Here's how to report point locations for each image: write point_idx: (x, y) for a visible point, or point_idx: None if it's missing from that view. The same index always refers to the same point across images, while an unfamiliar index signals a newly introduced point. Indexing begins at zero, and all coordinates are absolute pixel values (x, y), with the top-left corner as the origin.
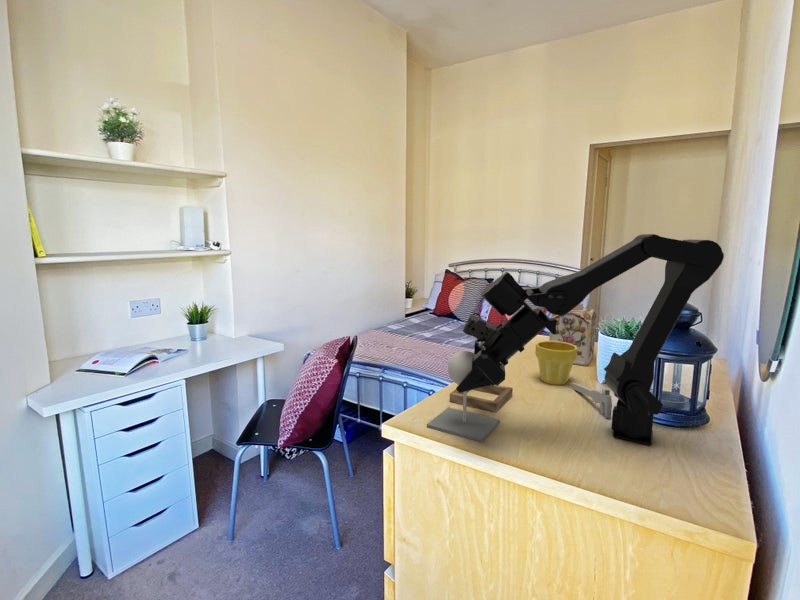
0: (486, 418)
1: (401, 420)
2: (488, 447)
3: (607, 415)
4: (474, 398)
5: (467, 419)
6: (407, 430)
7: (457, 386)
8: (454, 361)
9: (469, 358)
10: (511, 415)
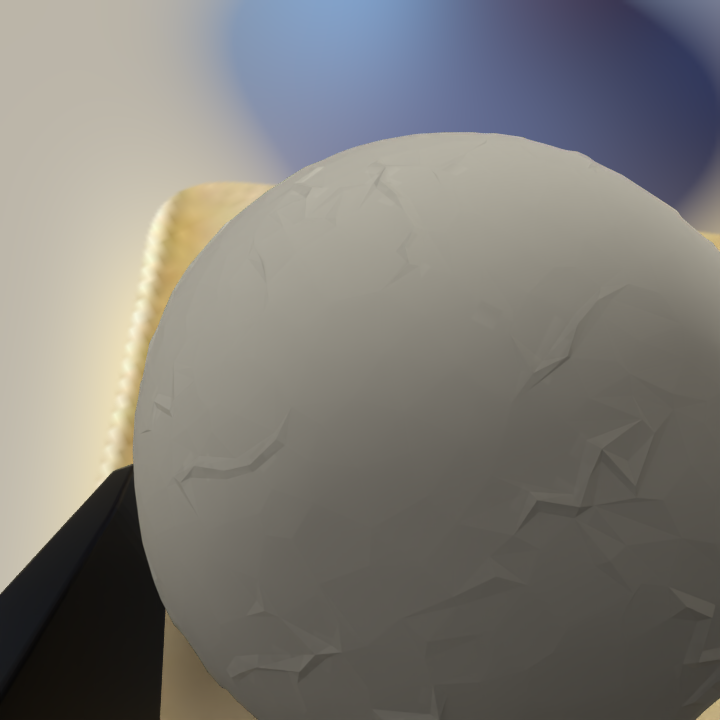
0: None
1: (245, 207)
2: (173, 707)
3: None
4: None
5: None
6: (166, 271)
7: (120, 477)
8: (192, 268)
9: (288, 612)
10: None
